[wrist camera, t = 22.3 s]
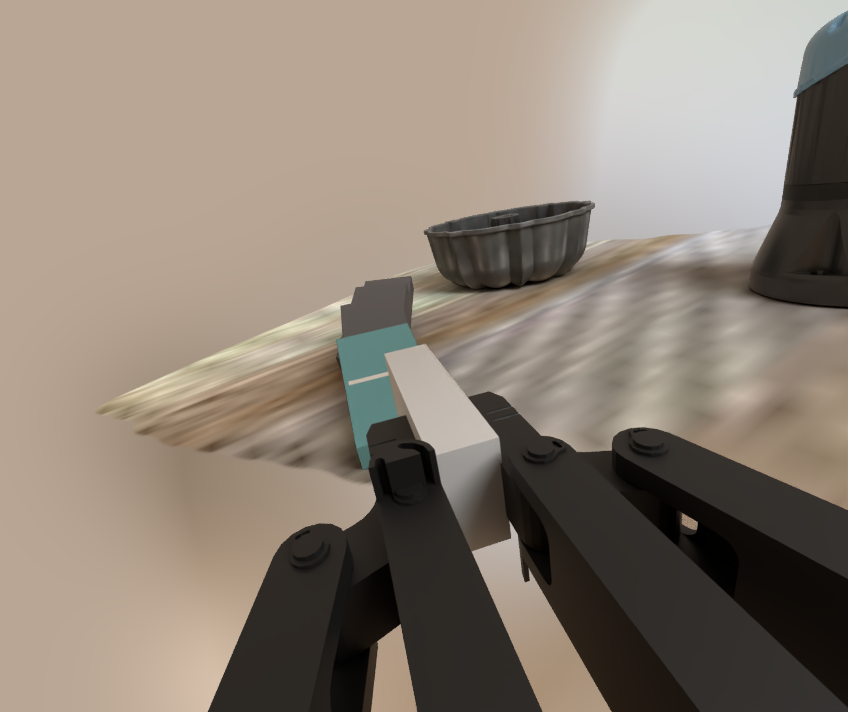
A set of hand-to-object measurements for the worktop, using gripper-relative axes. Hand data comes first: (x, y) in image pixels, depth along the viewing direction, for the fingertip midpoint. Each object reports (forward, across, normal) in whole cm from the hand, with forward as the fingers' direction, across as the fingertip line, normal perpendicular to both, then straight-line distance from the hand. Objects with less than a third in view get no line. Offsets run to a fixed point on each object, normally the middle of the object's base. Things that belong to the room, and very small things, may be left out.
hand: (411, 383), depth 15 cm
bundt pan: (+51, +26, -9) cm, 58 cm away
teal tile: (+8, 0, -8) cm, 11 cm away
